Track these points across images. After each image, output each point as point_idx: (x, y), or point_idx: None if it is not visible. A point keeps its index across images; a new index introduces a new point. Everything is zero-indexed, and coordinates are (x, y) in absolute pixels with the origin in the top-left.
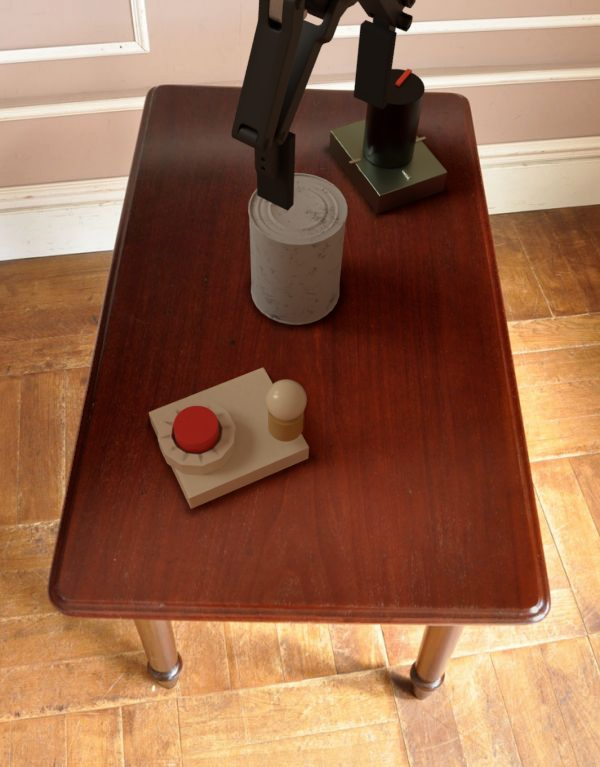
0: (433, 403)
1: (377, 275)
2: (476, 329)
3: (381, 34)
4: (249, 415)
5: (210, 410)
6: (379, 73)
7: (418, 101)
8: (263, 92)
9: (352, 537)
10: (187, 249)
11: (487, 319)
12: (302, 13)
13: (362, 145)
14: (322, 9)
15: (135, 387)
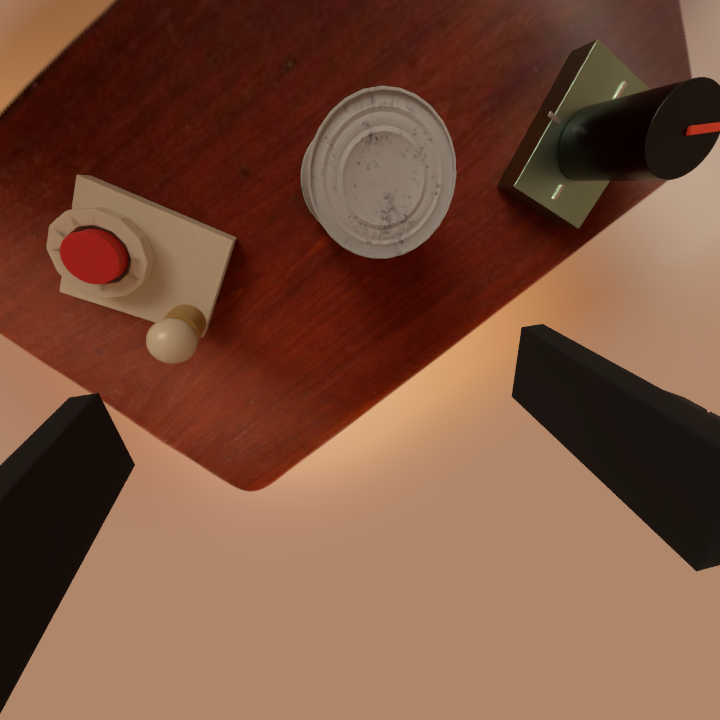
0: (331, 369)
1: (422, 243)
2: (418, 350)
3: (708, 536)
4: (178, 271)
5: (117, 259)
6: (578, 438)
7: (661, 179)
8: None
9: (185, 398)
10: None
11: (432, 350)
12: None
13: (584, 106)
14: None
15: (102, 115)
